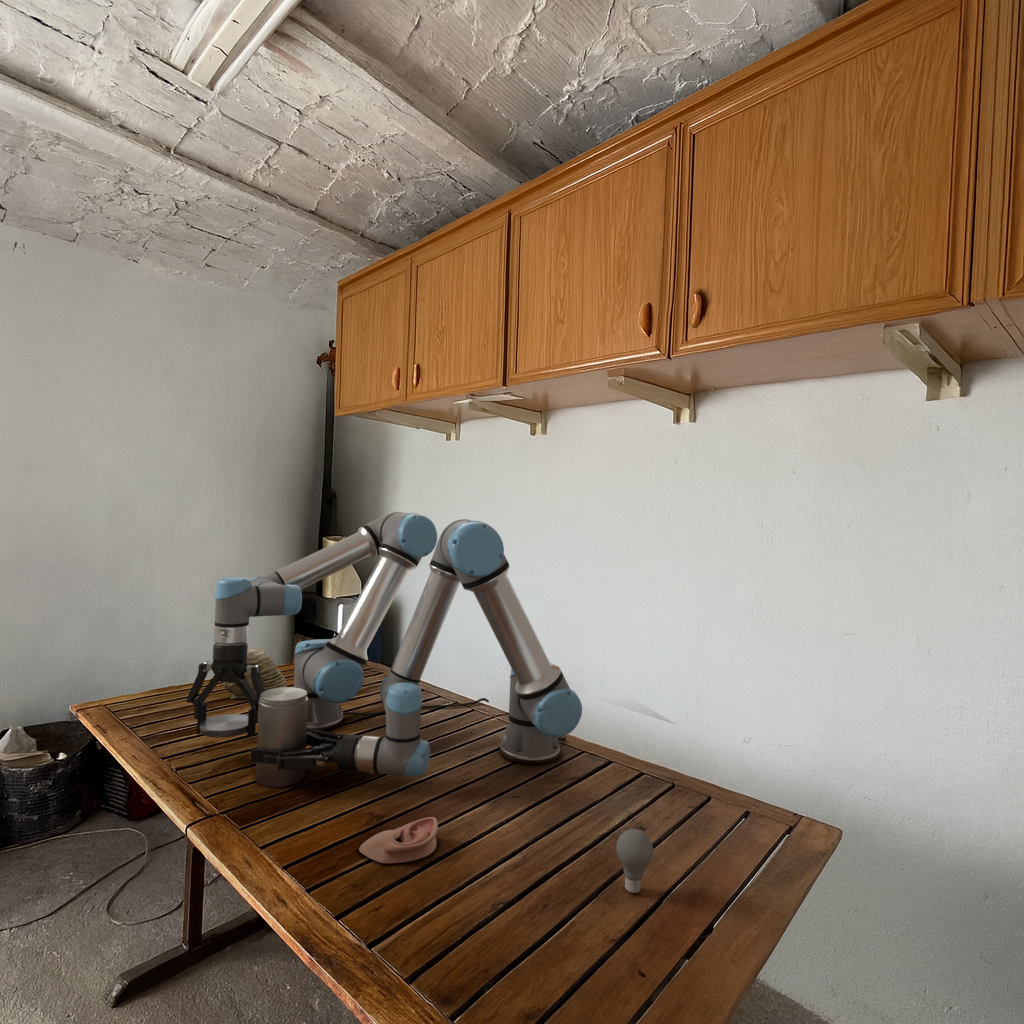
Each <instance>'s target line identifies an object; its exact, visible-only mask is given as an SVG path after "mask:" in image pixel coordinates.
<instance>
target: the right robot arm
mask: <svg viewBox="0 0 1024 1024" xmlns="http://www.w3.org/2000/svg"><path fill="white" fill-rule="evenodd" d="M433 551H434V552H433V554H432V557H431V559H430V562H429V564H428V567H429V569H430V573H429V575H428V578H427V580H426V582H425V585H424V587H423V590H422V593H421V595H420V597H419V600H418V603H417V605H416V607H415V608H414V609H415V610H414V611H413V614H412V616H411V619H410V622H409V623H408V627H407V629H406V631H405V633H404V636H403V639H402V641H401V644H400V645H399V648H398V651H397V654H396V656H395V658H394V660H393V663H392V666H391V668H390V671H389V672H388V675H387V676H386V677H385V678H384V679H383V680H382V681H381V684H380V689H379V690H380V691H379V692H380V693H379V696H380V700H381V702H382V705H383V708H384V710H385V712H386V713H385V736H375V735H363V736H361V735H359V734H344V733H343V734H339V733H335V732H330V731H327V730H325V731H322V730H318V729H310V732H309V731H307V733H306V747H307V746H309V747H311V748H310V749H306V750H301V751H293V752H285V753H282V750H267V749H257V747H255V748H254V747H251V749H250V759H249V760H250V763H256V762H257V763H268V764H277V770H296V769H305V770H320V771H321V770H325V769H326V765H327V764H332V763H333V764H334V763H335V764H336V765H337V768H338V769H339V770H340V771H345V772H356V771H357V772H359V773H368V774H369V775H373V774H382V775H390V776H391V775H392V776H400V777H405V778H406V777H411V778H412V777H413V778H415V777H423V776H425V774H426V773H427V771H428V769H429V764H430V760H431V759H430V758H431V749H430V748H431V745H430V743H429V741H427V740H424V739H421V719H422V708H421V706H423V699H422V688H421V686H419V684H420V681H421V679H422V676H423V674H424V672H425V669H426V666H427V664H428V662H429V659H430V657H431V654H432V653H433V649H434V648H435V646H436V645H435V644H436V642H437V641H438V638H439V635H440V633H441V630H442V628H443V625H444V623H445V620H446V618H447V615H448V614H449V610H450V609H451V606H452V603H453V601H454V599H455V596H456V594H457V591H458V588H459V586H460V584H461V586H462V588H463V589H464V590H465V591H469V592H470V593H471V592H472V593H473V595H474V597H475V599H476V601H477V603H478V605H479V607H480V609H481V612H483V614H484V616H485V618H486V621H487V622H488V625H489V627H490V629H491V630H492V632H493V634H494V637H495V639H496V640H497V643H498V644H499V646H500V649H501V650H502V652H503V654H504V656H505V658H506V661H507V662H508V664H509V666H510V675H509V679H510V680H509V698H508V699H509V700H508V702H509V703H508V721H507V724H506V727H505V729H504V732H503V734H502V738H501V740H500V743H499V744H500V746H499V752H500V754H501V755H502V756H503V757H504V758H505V759H507V760H509V761H511V762H514V763H518V764H525V765H544V764H548V763H552V762H554V761H556V760H558V758H559V757H560V754H561V745H560V742H566V741H567V737H565V736H567V735H569V734H570V733H572V732H574V730H575V729H576V727H578V725H579V724H580V720H581V719H582V716H583V715H582V714H583V705H582V701H581V699H580V697H579V696H578V694H577V692H575V691H574V690H573V689H571V688H570V685H569V683H568V681H567V680H566V677H565V676H564V673H563V672H562V669H561V667H560V666H559V665H557V664H555V663H553V662H550V659H549V658H548V656H547V654H546V651H545V649H544V647H543V646H542V643H541V641H540V639H539V637H538V635H537V634H536V631H535V629H534V627H533V625H532V622H531V621H530V618H529V617H528V615H527V613H526V610H525V609H524V607H523V604H522V603H521V601H520V599H519V597H518V595H517V592H516V591H515V589H514V586H513V584H512V582H511V580H510V578H509V576H508V573H509V571H510V567H511V565H510V563H509V561H508V559H507V557H506V555H505V546H504V542H503V540H502V537H501V536H500V534H499V533H498V531H497V530H496V529H495V528H494V527H492V525H489V524H488V523H486V522H484V521H480V520H471V519H466V518H464V519H462V518H461V519H457V520H454V521H452V522H451V523H449V524H447V525H446V527H444V529H443V530H442V531H441V534H440V535H439V537H438V539H437V543H436V546H435V548H434V550H433Z"/></svg>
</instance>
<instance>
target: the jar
mask: <svg viewBox="0 0 1024 1024" xmlns="http://www.w3.org/2000/svg"><path fill="white" fill-rule="evenodd" d="M306 695H307V691H305V690H303V689H300V688H294V686H293V687H292V686H287V687H282V688H274V689H270V690H267V691H264V692H263V693H261V695H260V700H259V706H258V722H257V732H256V733H257V734H256V749H267V750H282V753H285V752H293V751H301V750H307V746H306V733H307V707H308V698H307V696H306ZM255 765H256V766H255V782H256V783H257V784H258V785H260V786H263V787H267V788H283V787H288V786H291V785H294V784H297V783H299V782H301V781H302V780H303V779H304V778H305V776H306V769H296V770H277V764H268V763H257V762H255Z"/></svg>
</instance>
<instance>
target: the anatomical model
mask: <svg viewBox="0 0 1024 1024" xmlns="http://www.w3.org/2000/svg"><path fill="white" fill-rule="evenodd" d="M438 830H439V822H438V819H437V818H436V817H434V816H428V817H423V818H419V819H417V820H414V821H410V822H409V823H407V824H404V825H401V826H398V827H397V828H395V829H388V830H383V831H381V832H378V833H376V834H374V835H372V836H371V837H369V838H368V839H366V840H365V841H364V842H363V843H362V844H361V845H360V846H359V848H358V850H359V852H360V853H361V854H362V855H364V857H366V858H368V859H369V860H372V861H374V862H377V863H380V864H399V863H400V864H401V863H409V862H413V861H417V860H420V859H422V858H426V857H427V856H429V855H431V854H432V853H433V852H435V850H436V847H437V837H436V836H437V834H438Z"/></svg>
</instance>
